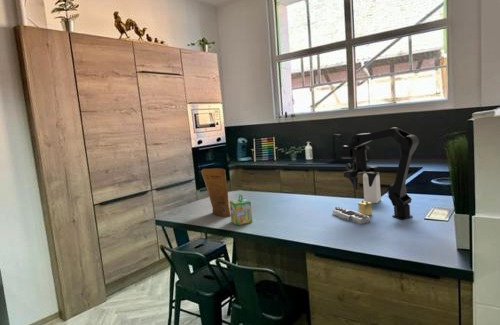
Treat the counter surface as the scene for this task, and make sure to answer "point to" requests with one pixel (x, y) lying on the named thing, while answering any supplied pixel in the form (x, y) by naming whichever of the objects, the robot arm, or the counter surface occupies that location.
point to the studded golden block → (365, 208)
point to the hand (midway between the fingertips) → (363, 188)
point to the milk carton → (371, 189)
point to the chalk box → (241, 211)
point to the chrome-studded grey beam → (354, 216)
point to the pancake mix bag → (217, 190)
